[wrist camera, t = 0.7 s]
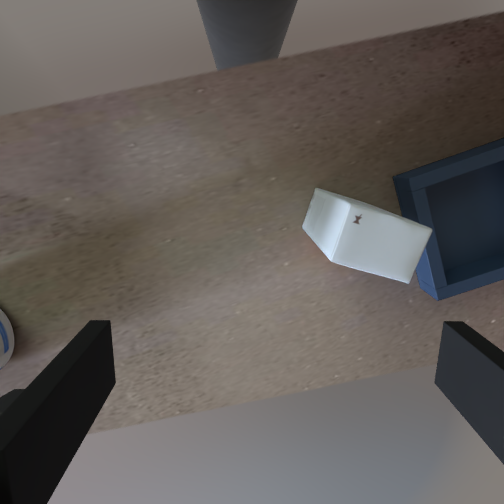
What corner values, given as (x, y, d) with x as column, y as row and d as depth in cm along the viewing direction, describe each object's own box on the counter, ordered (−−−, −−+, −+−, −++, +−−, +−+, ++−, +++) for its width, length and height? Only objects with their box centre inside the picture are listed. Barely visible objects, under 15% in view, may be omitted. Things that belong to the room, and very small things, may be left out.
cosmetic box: (300, 228, 36) (327, 261, 25) (314, 186, 35) (349, 200, 24) (358, 246, 37) (410, 286, 25) (373, 205, 36) (436, 227, 24)
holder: (392, 176, 35) (408, 178, 32) (515, 133, 35) (545, 130, 31) (420, 288, 38) (437, 301, 35) (534, 250, 37) (564, 259, 34)
